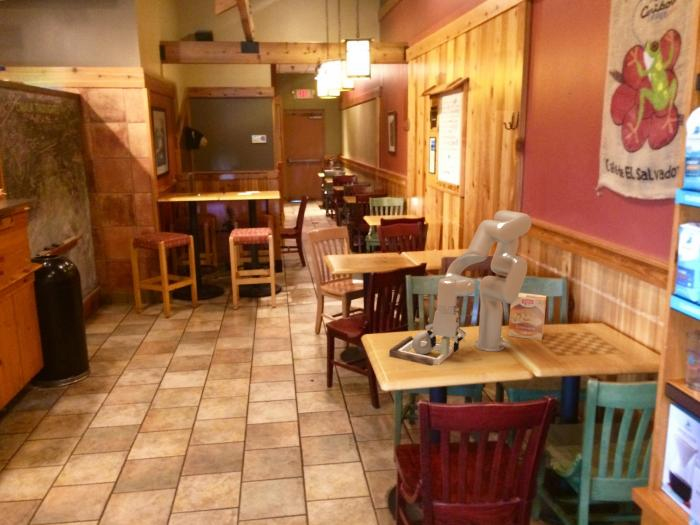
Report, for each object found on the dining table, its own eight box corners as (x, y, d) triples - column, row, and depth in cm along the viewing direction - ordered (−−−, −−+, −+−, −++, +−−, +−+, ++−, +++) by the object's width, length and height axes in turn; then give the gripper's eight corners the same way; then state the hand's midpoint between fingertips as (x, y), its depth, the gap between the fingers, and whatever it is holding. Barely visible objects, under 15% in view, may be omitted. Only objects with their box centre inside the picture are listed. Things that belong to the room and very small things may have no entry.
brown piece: (449, 350, 254) (449, 344, 253) (431, 366, 237) (431, 359, 236) (409, 342, 263) (409, 336, 262) (389, 356, 246) (389, 349, 246)
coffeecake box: (507, 336, 272) (510, 295, 268) (509, 331, 279) (512, 291, 274) (541, 340, 267) (545, 299, 262) (543, 335, 273) (546, 295, 269)
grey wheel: (413, 356, 246) (414, 333, 244) (410, 353, 250) (411, 331, 248) (435, 354, 249) (436, 332, 247) (432, 351, 252) (433, 329, 250)
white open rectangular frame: (454, 352, 251) (455, 332, 249) (439, 365, 237) (440, 344, 235) (413, 344, 260) (414, 324, 258) (396, 356, 246) (397, 335, 244)
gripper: (470, 310, 238) (467, 350, 242) (430, 303, 247) (428, 342, 251) (463, 314, 232) (461, 355, 236) (423, 307, 241) (421, 347, 244)
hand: (444, 348), depth 243 cm, fingers open, 9 cm apart
